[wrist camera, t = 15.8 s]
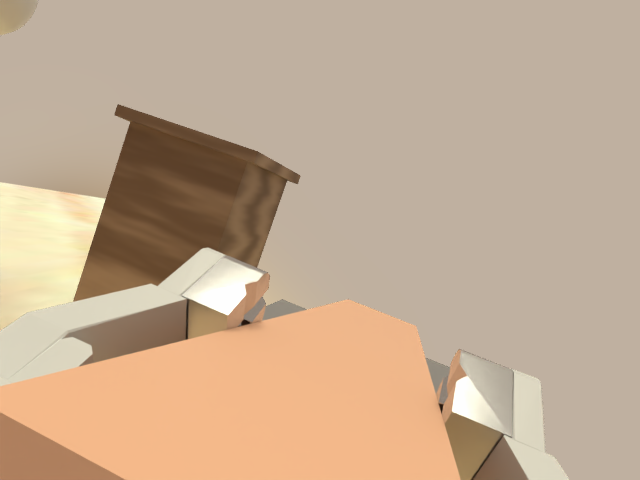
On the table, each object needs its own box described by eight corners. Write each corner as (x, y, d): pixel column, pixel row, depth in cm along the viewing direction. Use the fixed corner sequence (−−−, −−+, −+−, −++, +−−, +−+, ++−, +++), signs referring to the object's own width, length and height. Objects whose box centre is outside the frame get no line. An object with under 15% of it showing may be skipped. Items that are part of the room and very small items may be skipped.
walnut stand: (160, 437, 40) (257, 151, 38) (32, 372, 42) (117, 104, 41) (227, 387, 53) (300, 175, 51) (127, 341, 56) (193, 139, 54)
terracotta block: (363, 1143, 2) (522, 693, 2) (-164, 726, 3) (-33, 395, 3) (400, 368, 25) (416, 326, 25) (332, 340, 26) (348, 299, 26)
